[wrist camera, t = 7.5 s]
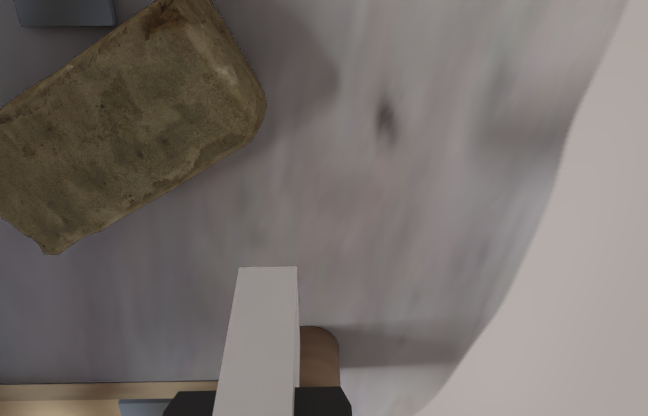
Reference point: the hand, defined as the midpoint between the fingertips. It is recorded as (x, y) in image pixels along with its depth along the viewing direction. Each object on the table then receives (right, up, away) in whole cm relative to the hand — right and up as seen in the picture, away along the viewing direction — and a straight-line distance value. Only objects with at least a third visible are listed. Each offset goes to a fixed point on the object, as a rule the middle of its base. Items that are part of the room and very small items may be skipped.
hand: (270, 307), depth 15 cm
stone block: (-7, +7, +9) cm, 14 cm away
